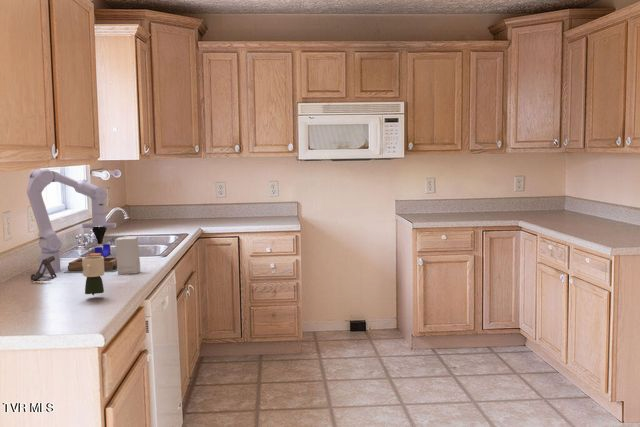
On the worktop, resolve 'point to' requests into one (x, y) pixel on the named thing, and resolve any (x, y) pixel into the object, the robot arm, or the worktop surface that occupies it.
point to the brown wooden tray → (109, 264)
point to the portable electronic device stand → (47, 264)
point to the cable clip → (103, 250)
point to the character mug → (93, 274)
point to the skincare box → (127, 255)
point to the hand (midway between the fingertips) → (100, 243)
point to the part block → (95, 254)
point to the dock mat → (82, 271)
